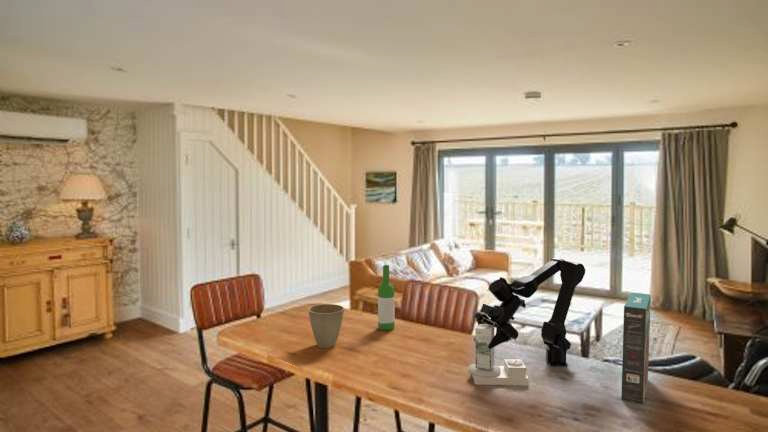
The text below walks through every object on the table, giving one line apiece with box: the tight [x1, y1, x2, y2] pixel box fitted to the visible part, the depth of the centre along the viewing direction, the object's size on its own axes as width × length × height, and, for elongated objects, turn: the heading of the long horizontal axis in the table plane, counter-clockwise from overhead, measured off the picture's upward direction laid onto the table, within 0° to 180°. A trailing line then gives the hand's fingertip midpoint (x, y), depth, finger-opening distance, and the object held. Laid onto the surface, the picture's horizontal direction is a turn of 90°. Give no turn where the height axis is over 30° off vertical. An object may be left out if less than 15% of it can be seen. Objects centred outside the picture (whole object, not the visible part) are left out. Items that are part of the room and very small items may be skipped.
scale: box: [468, 358, 530, 386], centre depth 171 cm, size 20×11×6 cm, turn 87°
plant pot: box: [307, 303, 345, 349], centre depth 207 cm, size 15×15×16 cm
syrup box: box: [474, 323, 496, 370], centre depth 171 cm, size 6×6×14 cm
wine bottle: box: [377, 264, 396, 331], centre depth 230 cm, size 8×8×30 cm
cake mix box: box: [621, 292, 652, 405], centre depth 161 cm, size 22×6×30 cm, turn 148°
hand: (481, 344), depth 170 cm, fingers closed on syrup box, 8 cm apart
